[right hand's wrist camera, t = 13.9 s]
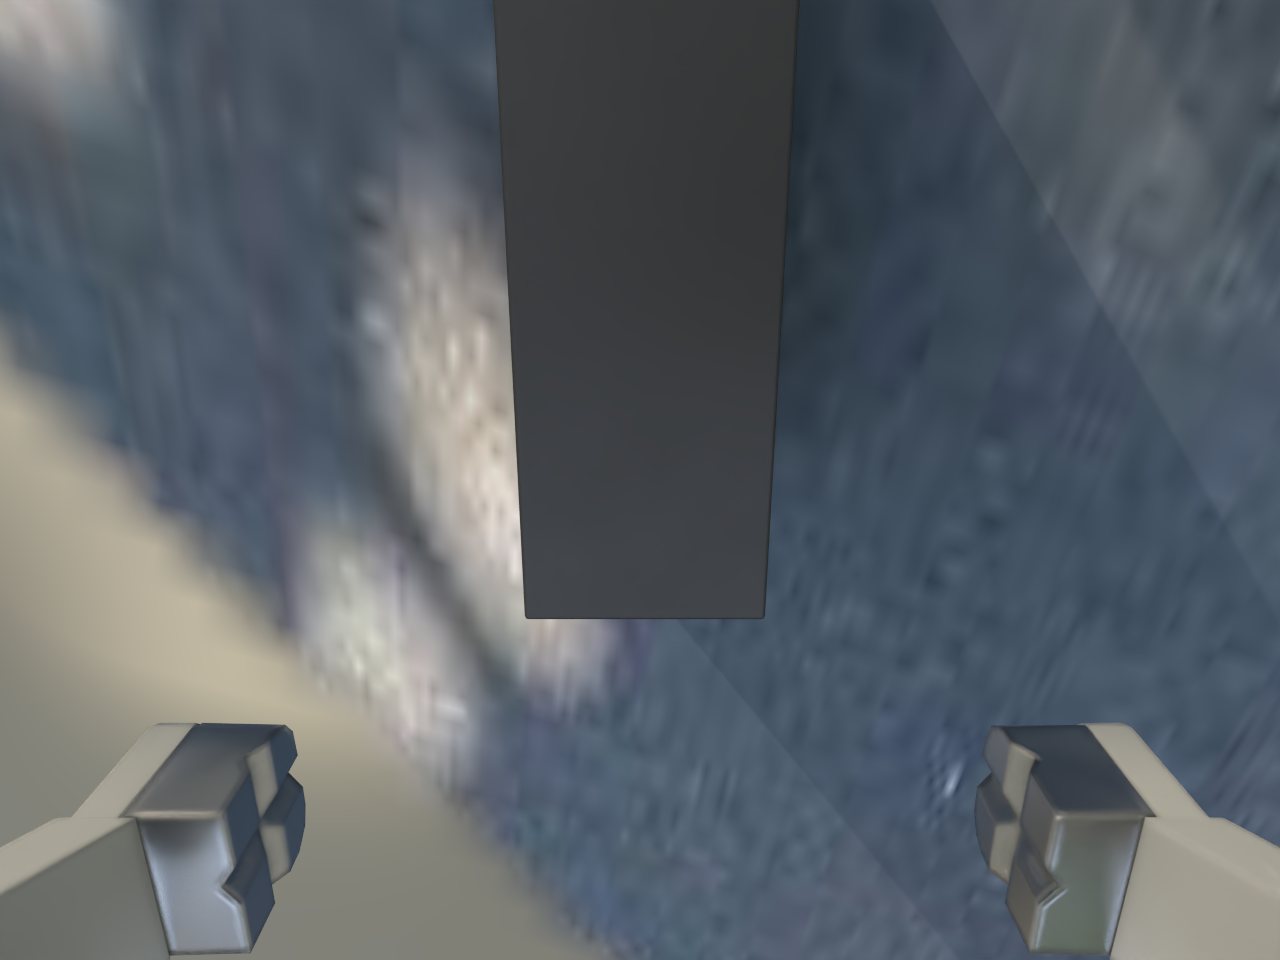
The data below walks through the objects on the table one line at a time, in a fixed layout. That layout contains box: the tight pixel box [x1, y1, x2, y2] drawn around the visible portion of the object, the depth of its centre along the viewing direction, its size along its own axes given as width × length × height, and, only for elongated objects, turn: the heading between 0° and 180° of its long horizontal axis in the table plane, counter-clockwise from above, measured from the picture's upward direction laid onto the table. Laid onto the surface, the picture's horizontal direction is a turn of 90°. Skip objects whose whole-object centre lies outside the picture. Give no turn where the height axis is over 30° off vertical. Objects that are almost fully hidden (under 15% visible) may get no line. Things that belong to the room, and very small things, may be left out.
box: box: [493, 0, 799, 619], centre depth 23 cm, size 23×6×10 cm, turn 0°
